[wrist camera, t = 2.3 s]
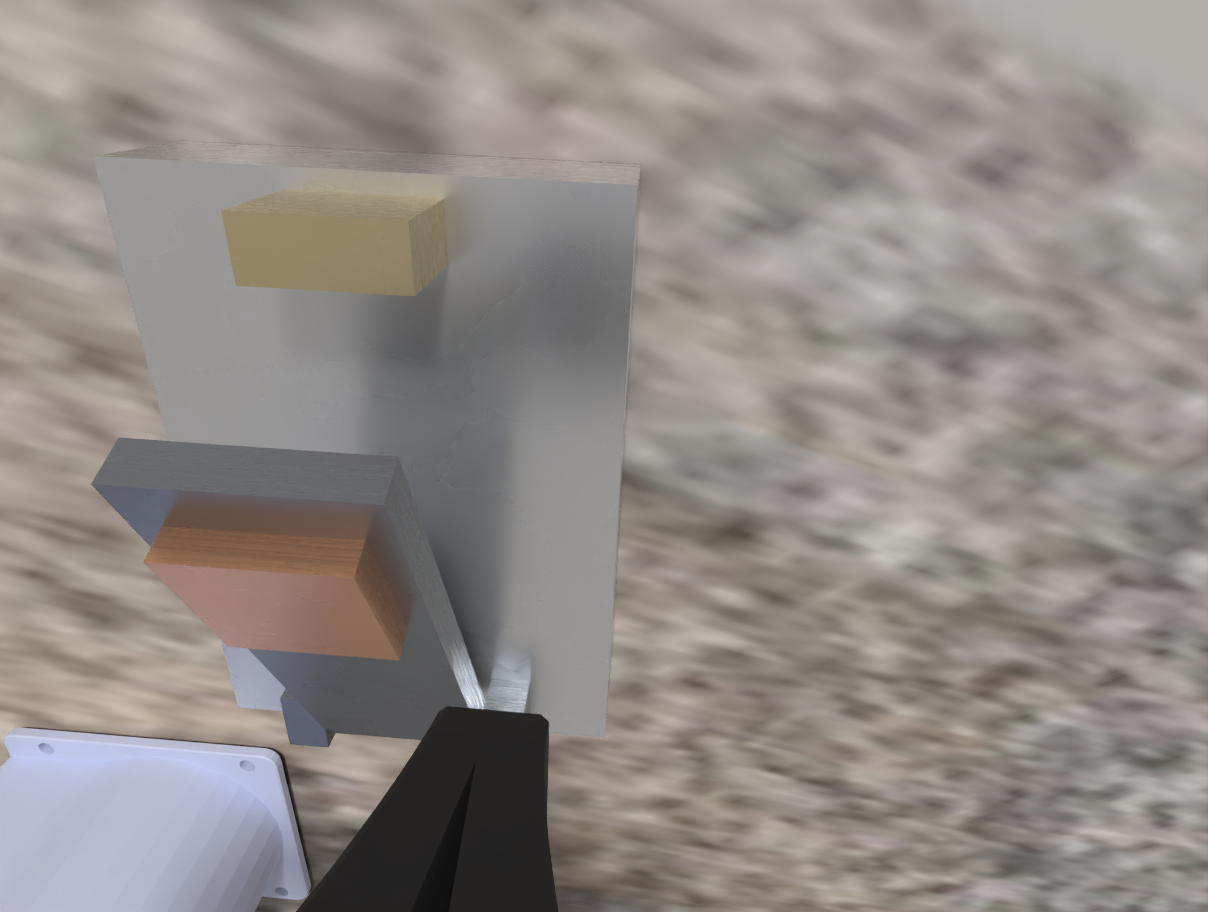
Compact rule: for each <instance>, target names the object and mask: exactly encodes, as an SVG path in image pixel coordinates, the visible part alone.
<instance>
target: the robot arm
mask: <svg viewBox="0 0 1208 912" xmlns="http://www.w3.org/2000/svg"><path fill="white" fill-rule="evenodd" d="M4 742H5V746H6V748H7V750H8V752H9V754H10V756H11V757H10V758H9V759H8V760H7V761H6V762H5V763H4V764H3V765H2V766H1V767H0V912H255V910H256V908H257V906H258V904H259V902H260V900H261V898H262V897H270V898H281V899H292V900H301V899H304V898H306V897H307V896H308V893H309V891H310V889H311V883H310V879H309V874H308V870H307V866H306V862H305V858H304V853H303V849H302V845H301V841H300V837H299V832H298V828H297V824H296V820H295V816H294V811H293V807H292V803H291V799H290V795H289V790H288V786H287V782H286V778H285V774H284V769H283V765H282V761H281V758H280V756H279V755H278V754H277V753H276V752H275V751H273V750H271V749H267V748H258V747H246V746H234V745H223V744H211V743H199V742H187V741H175V740H163V739H152V738H140V737H128V736H116V735H104V734H92V733H81V732H69V731H57V730H45V729H33V728H15V729H13V730H12V731H11V732H10V733H9V734H8V735H7V736H6V737H5V739H4ZM548 748H549V721H548V720H547V719H545V718H544V717H543V716H542V715H541V714H532V713H520V712H509V711H498V710H486V709H475V708H463V707H452V706H446V707H445V708H444V709H442V710H441V711H439V712H438V714H437V716H436V717H435V719H434V721H433V722H432V724H431V726H430V728H429V729H428V731H427V733H426V734H425V736H424V737H423V739H422V741H421V742H420V744H419V745H418V747H417V749H416V750H415V752H414V753H413V755H412V756H411V758H410V759H409V761H408V762H407V764H406V765H405V767H404V768H403V770H402V771H401V773H400V774H399V776H398V777H397V779H396V780H395V782H394V783H393V784H392V786H391V787H390V789H389V790H388V792H387V793H386V795H385V796H384V797H383V799H382V800H381V802H380V803H379V805H378V806H377V807H376V809H375V810H374V811H373V813H372V814H371V815H370V817H369V818H368V820H367V821H366V822H365V824H364V825H363V826H362V828H361V829H360V830H359V832H358V833H357V834H356V836H355V837H354V838H353V840H352V841H351V843H350V844H349V845H348V847H347V848H346V849H345V851H344V852H343V853H342V855H341V856H340V857H339V859H338V860H337V861H336V863H335V864H334V865H333V866H332V868H331V869H330V870H329V872H328V873H327V874H326V875H325V877H324V878H323V879H322V880H321V882H320V883H319V884H318V885H317V886H316V888H315V889H314V890H313V891H312V893H311V894H310V895H309V896H308V898H307V899H306V900H305V901H304V902H303V904H302V905H301V906H300V907H299V909H298V910H297V911H296V912H558V907H557V901H556V894H555V886H554V879H553V871H552V863H551V855H550V848H549V839H548V829H547V788H548Z"/></svg>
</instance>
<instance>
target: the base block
mask: <svg viewBox="0 0 1208 912" xmlns="http://www.w3.org/2000/svg"><path fill="white" fill-rule="evenodd" d="M93 159H94V163H95V167H96V171H97V175H98V178H99V182H100V186H101V190H102V193H103V197H104V201H105V205H106V209H107V212H108V216H109V220H110V224H111V227H112V231H113V235H114V239H115V243H116V246H117V250H118V254H119V258H120V261H121V265H122V269H123V273H124V276H125V280H126V284H127V288H128V292H129V295H130V299H131V303H132V307H133V310H134V314H135V318H136V322H137V326H138V329H139V333H140V337H141V341H142V344H143V348H144V352H145V356H146V360H147V363H148V367H149V371H150V375H151V378H152V382H153V386H154V390H155V394H156V397H157V401H158V405H159V409H160V412H161V416H162V420H163V424H164V428H165V431H166V435H167V439H168V441H174V442H188V443H203V444H218V445H232V446H247V447H262V448H276V449H291V450H306V451H320V452H335V453H350V454H364V455H379V456H394V457H399V460H400V462H401V465H402V468H403V471H404V474H405V476H406V479H407V482H408V485H409V488H410V491H411V493H412V496H413V499H414V502H415V505H416V508H417V510H418V513H419V516H420V519H421V522H422V524H423V527H424V530H425V533H426V536H427V539H428V541H429V544H430V547H431V550H432V553H433V556H434V558H435V561H436V564H437V567H438V570H439V572H440V575H441V578H442V581H443V584H444V587H445V589H446V592H447V595H448V598H449V601H450V604H451V606H452V609H453V612H454V615H455V618H456V621H457V623H458V626H459V629H460V632H461V635H462V637H463V640H464V643H465V646H466V649H467V652H468V654H469V657H470V660H471V663H472V666H473V669H474V671H475V674H476V677H477V680H478V683H479V685H480V688H481V691H482V694H483V697H484V700H485V704H484V708H483V709H486V710H498V711H509V712H520V713H532V714H541V715H542V716H543V717H544V718H545V719H547V720H548V721H549V733H555V734H567V735H579V736H591V737H604V738H605V731H606V719H607V706H608V694H609V682H610V670H611V657H612V641H613V624H614V607H615V591H616V574H617V558H618V541H619V525H620V508H621V491H622V475H623V458H624V442H625V425H626V409H627V392H628V376H629V359H630V342H631V326H632V309H633V293H634V276H635V260H636V243H637V226H638V210H639V193H640V177H641V164H621V163H602V162H583V161H563V160H544V159H525V158H505V157H486V156H467V155H447V154H428V153H409V152H389V151H370V150H351V149H332V148H312V147H293V146H274V145H254V144H235V143H216V142H196V141H181V142H175V143H169V144H163V145H158V146H152V147H146V148H140V149H134V150H128V151H122V152H116V153H110V154H104V155H98V156H93ZM221 643H222V647H223V650H224V654H225V658H226V662H227V665H228V669H229V673H230V677H231V681H232V684H233V688H234V692H235V696H236V699H237V703H238V707H240V708H252V709H264V710H276V711H283V715H284V719H285V724H286V728H287V732H288V737H289V741H290V744H296V745H307V746H319V747H329V745H330V743H331V741H332V739H333V737H334V735H335V733H331V732H327V731H326V730H325V729H324V728H323V727H322V726H321V725H320V724H319V723H318V722H317V721H316V720H315V719H314V718H313V717H312V716H311V715H310V713H309V712H308V711H307V710H306V709H305V708H304V707H303V706H302V705H301V704H300V703H299V702H298V701H297V700H296V699H295V698H294V697H293V696H292V695H291V694H290V692H289V691H288V690H287V689H286V688H285V687H284V686H283V685H282V684H281V683H280V682H279V681H278V680H277V679H276V678H275V677H274V676H273V675H272V674H271V673H270V671H269V670H268V669H267V668H266V667H265V666H264V665H263V664H262V663H261V662H260V661H259V660H258V659H257V658H256V657H255V656H254V655H253V654H252V653H251V652H250V651H249V649H248V648H236V647H228V646H227V645H226V644H225V643H224V642H223V641H222V640H221Z"/></svg>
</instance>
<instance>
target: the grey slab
mask: <svg viewBox="0 0 1208 912" xmlns="http://www.w3.org/2000/svg"><path fill="white" fill-rule="evenodd" d="M91 485H92V486H93V487H94V488H95V489H96V490H97V491H98V492H99V493H100V494H101V495H102V496H103V497H104V498H105V499H106V500H107V501H108V502H109V504H110V505H111V506H112V507H113V508H114V509H115V510H116V511H117V512H118V513H119V514H120V515H121V516H122V517H123V518H124V519H125V520H126V521H127V522H128V523H129V525H130V526H131V527H132V528H133V529H134V530H135V531H136V532H137V533H138V534H139V535H140V536H141V537H142V538H143V539H144V540H145V541H146V542H147V543H148V544H149V546H150V547H151V548H150V550H149V552H148V554H147V556H146V558H145V560H144V562H143V563H144V564H145V565H146V566H147V567H149V568H150V569H151V570H152V571H153V572H154V573H155V574H156V575H157V576H158V577H159V578H160V579H161V580H162V581H163V582H164V583H165V584H166V585H167V586H168V587H169V588H170V589H171V590H172V591H173V592H174V593H175V594H176V595H177V596H178V597H179V598H180V599H181V600H182V601H183V602H184V603H185V604H186V605H187V606H188V607H189V608H190V609H191V610H192V611H193V612H194V613H195V614H196V615H197V616H198V617H199V618H200V619H201V620H202V621H203V622H204V623H205V624H206V625H207V626H208V627H209V628H210V629H211V630H212V631H213V632H214V633H215V634H216V635H217V636H218V637H219V638H220V639H221V640H222V641H223V642H224V643H225V644H226V645H227V646H228V647H236V648H248V649H249V651H250V652H251V653H252V654H253V655H254V656H255V657H256V658H257V659H258V660H259V661H260V662H261V663H262V664H263V665H264V666H265V667H266V668H267V669H268V670H269V671H270V673H271V674H272V675H273V676H274V677H275V678H276V679H277V680H278V681H279V682H280V683H281V684H282V685H283V686H284V687H285V688H286V689H287V690H288V691H289V692H290V694H291V695H292V696H293V697H294V698H295V699H296V700H297V701H298V702H299V703H300V704H301V705H302V706H303V707H304V708H305V709H306V710H307V711H308V712H309V713H310V715H311V716H312V717H313V718H314V719H315V720H316V721H317V722H318V723H319V724H320V725H321V726H322V727H323V728H324V729H325V730H326V731H327V732H331V733H343V734H355V735H367V736H379V737H391V738H403V739H415V740H422V739H423V737H424V736H425V734H426V733H427V731H428V729H429V728H430V726H431V724H432V722H433V721H434V719H435V717H436V716H437V714H438V712H439V711H441V710H442V709H444V708H445V707H446V706H452V707H463V708H475V709H483V708H484V704H485V700H484V697H483V694H482V691H481V688H480V685H479V683H478V680H477V677H476V674H475V671H474V669H473V666H472V663H471V660H470V657H469V654H468V652H467V649H466V646H465V643H464V640H463V637H462V635H461V632H460V629H459V626H458V623H457V621H456V618H455V615H454V612H453V609H452V606H451V604H450V601H449V598H448V595H447V592H446V589H445V587H444V584H443V581H442V578H441V575H440V572H439V570H438V567H437V564H436V561H435V558H434V556H433V553H432V550H431V547H430V544H429V541H428V539H427V536H426V533H425V530H424V527H423V524H422V522H421V519H420V516H419V513H418V510H417V508H416V505H415V502H414V499H413V496H412V493H411V491H410V488H409V485H408V482H407V479H406V476H405V474H404V471H403V468H402V465H401V462H400V460H399V457H394V456H379V455H364V454H350V453H335V452H320V451H306V450H291V449H276V448H262V447H247V446H232V445H218V444H203V443H188V442H174V441H159V440H144V439H130V438H119V439H118V440H117V442H116V444H115V445H114V447H113V449H112V450H111V452H110V454H109V455H108V457H107V459H106V460H105V462H104V464H103V465H102V467H101V469H100V470H99V472H98V474H97V475H96V477H95V479H94V480H93V482H92V484H91Z"/></svg>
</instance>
